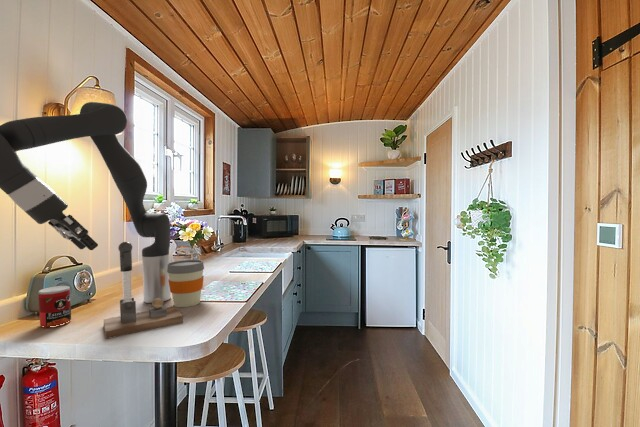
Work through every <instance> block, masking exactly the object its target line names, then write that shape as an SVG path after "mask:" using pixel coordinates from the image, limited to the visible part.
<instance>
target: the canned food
mask: <svg viewBox="0 0 640 427" xmlns="http://www.w3.org/2000/svg"><path fill="white" fill-rule="evenodd" d="M71 305H72V304H71V288H70V286H69V285H58V286H49V287H46V288H43V289H42V288H41V289H40V290H38V307H39V308H38V309H39V310H38V311H39V325H40V327H41V326H44V327H50V326H56V325H60V324H63V323H66V322H68V321H70V320H72V308H71V307H72V306H71ZM70 322H71V321H70Z"/></svg>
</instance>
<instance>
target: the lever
mask: <svg viewBox="0 0 640 427" xmlns="http://www.w3.org/2000/svg"><path fill="white" fill-rule="evenodd" d="M117 248H118V251H119V266H120V267H119V269H120V272H121V273H122V275H121V276H122V277H121V278H122V294H123V295H122V297H123V298H122V299H123V301H122V303H124V302H130V301H132V298H133V297H132V296H133V294H132V274H131V272H132V271H133V258H132V251H133V244H132V243H131V242H129V241H123V242H121V243H120V244H118V246H117Z"/></svg>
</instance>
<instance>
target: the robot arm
mask: <svg viewBox="0 0 640 427" xmlns="http://www.w3.org/2000/svg"><path fill="white" fill-rule="evenodd" d="M79 110H80V111H79V113H76V114H68V115H67V114H65V115H47V116H46V115H45V116H34V117H28V118H27V117H26V118H22V119H21V118H20V119H15V120H9V121H6V122H4V123H3V124H1V125H0V190H2V191H3V192H4V193H5V194H6V195H7V196H8V197H9V198H10V199H11V201H13V202H14V203H15V205H16V206H18V208H20V209H21V210H23V212H24V213H25V214H26V215H28V216H29V217H30V218H31V219H32V220H33V221H35V223H37V224H38V225H43V224H45V223H48V225H49V226H51V227H52V228H53V229H54V230H55V231H56V232H57V233H58V234H60V235H61V237H63V238H64V239H66V240H67V241H70V242H71V243H72V244H74V245H75V246H76V248H78V249H79V250H84V249H85V248H87V249H88V251H93V250H95V249H96V248H97V247H98V246H99V244H98V243H97V242H96V240H94V239H93V238H92V237H91V236H90V235H89V231H88V229H86V228H85V227H84V226H83V225H82V224H81V223H80V222H79V221H78V220H77V219H75V218H74V216H73V215H71V214H68V215H66V214H65V213H64V211H65V210H66V209H67V208H68V204H67V203H66V201H64V200H63V198H62V197H60V196H59V195H58V194H57V193H56V192H55V191H54V190H53V189H52V188H51V187H50V186H49V185H48V184H47V183H45V182H44V181H43V180H41V179H40V178H39V177H38V176H37V175H36V174H35V173H34V172H33V171H32V170H31V169H30V168H29V167H27V165H25V164H24V163H23V162H22V160H21V158H20V157H19V155H18V154H17V152H19V151H23V150H30V149H34V148H38V147H42V146H46V145H51V144H55V143H60V142H64V141H69V140H75V139H79V138H87V137H90V138H91V140H92V141H93V143H94V145H95V147H96V148H97V151H99V153H100V155H101V157H102V159H103V160H104V161H103V162H104V163H105V165H106V168H108V170H109V173H110V175H111V177H112V179H113V181H114V183H115V185H116V187H117V189H118V191H119V193H120V194H121V197H122V199H123V200H124V202H125V203H124V204H125V205H126V207H127V209H128V212H129V215H130V218H131V220H132V223H133V226H134V229H135V231H136V232H137V234H138V235H139V236H140V237H142V238H154V242H153V243H152V244H151V245H149V246H146V247H143V248H142V250H141V258H142V259H141V263H142V264H141V265H142V283H143V290H142V291H143V302H144V303H146V304H150V303H151V304H152V301H153V300H154V299H156V298H160V299H162V300H163V302H166V301H169V300H170V299H171V297H172V294H171V292H170V287H169V281H168V280H169V274H168V273H167V268H168V264H169V263H170V247H171V221H170V217H169V216H168V214H166V213H163V212H155V213H153V212H152V213H151V212H148V211H147V210H146V208H145V206H144V198H145V195H146V193H147V189H148V182H147V178H146V175H145V173H144V171H143V169H142V167H141V165H140V163H139V162H138V161H137V160H136V158H135V157H133V155H131V153H130V152H129V151H128V150H127V149H126V148H125V147H124V146H123V145H122V143H121V141H119V138H118V136H117V135H119V134H121V133H122V132H124V130H125V129H126V128H127V126H128V116H127V114H126V113H125V111H124V110H123V109H122V108H121V107H119V106H117V105H115V104H112V103H106V102H98V101H97V102H96V101H90V102H86V103H84V104H82V106H81V107H80V109H79Z"/></svg>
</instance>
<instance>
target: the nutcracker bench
mask: <svg viewBox="0 0 640 427" xmlns="http://www.w3.org/2000/svg"><path fill="white" fill-rule="evenodd" d="M122 301H123V298H122V299H119V310H120V312H119V314H120V315H119V316H114V317H110V318H104V319H103V329H104V335H105V336H106V337H105V339H106V338H107V339H110V338H109V337H112V338H115V337H114V336H116V337H121V336H124V335H130V334H134V333H139V332H144V331H149V330H154V329H157V328H162V327H163V328H164V327H167V326H172V325H176V324H181V323H183V322H184V316H183V314H182V313H181V312H180V310H178V309H177V307H176V306H174V305H173V306H167V307H166V306H165V305H164V301H163V300H162V299H160V298H156V299H154V300H153V301H152V303H151V307H149V308H148V310H147V311H142V312H137V306H136V305H137V304H136V303H137V302H136V300H135V299H134V297H132V301H130V302H124V303H122ZM120 335H121V336H120Z"/></svg>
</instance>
